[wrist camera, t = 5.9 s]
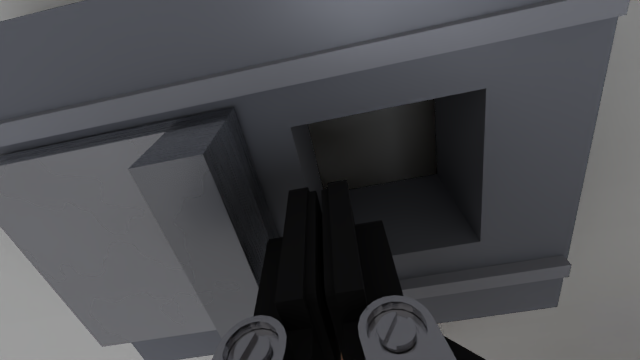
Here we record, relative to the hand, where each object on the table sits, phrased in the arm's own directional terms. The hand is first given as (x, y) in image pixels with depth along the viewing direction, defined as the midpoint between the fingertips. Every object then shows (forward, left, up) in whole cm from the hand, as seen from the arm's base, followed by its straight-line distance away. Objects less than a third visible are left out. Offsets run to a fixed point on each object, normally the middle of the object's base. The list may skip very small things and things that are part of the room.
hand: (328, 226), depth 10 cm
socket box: (0, +1, -6) cm, 6 cm away
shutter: (0, +6, -1) cm, 6 cm away
